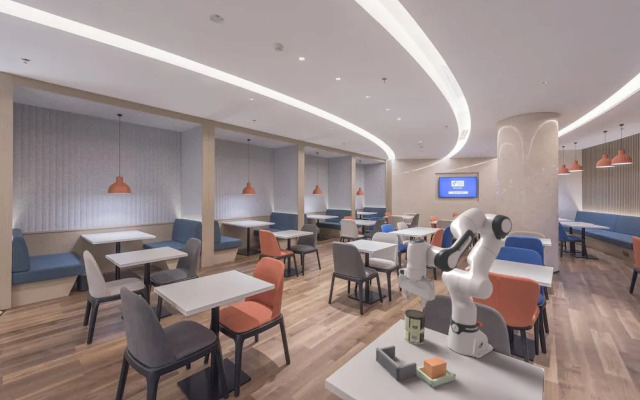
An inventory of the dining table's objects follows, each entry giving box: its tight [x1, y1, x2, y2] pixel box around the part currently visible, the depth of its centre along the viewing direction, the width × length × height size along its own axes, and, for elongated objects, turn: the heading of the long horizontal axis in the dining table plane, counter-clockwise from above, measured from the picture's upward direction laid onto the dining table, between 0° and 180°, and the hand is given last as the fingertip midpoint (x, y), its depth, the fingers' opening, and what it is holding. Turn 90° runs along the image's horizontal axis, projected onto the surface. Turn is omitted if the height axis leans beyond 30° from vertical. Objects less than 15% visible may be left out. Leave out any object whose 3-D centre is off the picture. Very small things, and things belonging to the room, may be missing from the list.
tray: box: [415, 364, 457, 389], centre depth 117 cm, size 13×10×2 cm
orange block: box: [423, 356, 448, 380], centre depth 117 cm, size 8×4×6 cm, turn 113°
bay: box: [375, 345, 418, 382], centre depth 122 cm, size 10×15×6 cm
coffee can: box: [403, 309, 426, 346], centre depth 147 cm, size 10×10×14 cm
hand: (415, 302), depth 130 cm, fingers open, 8 cm apart
